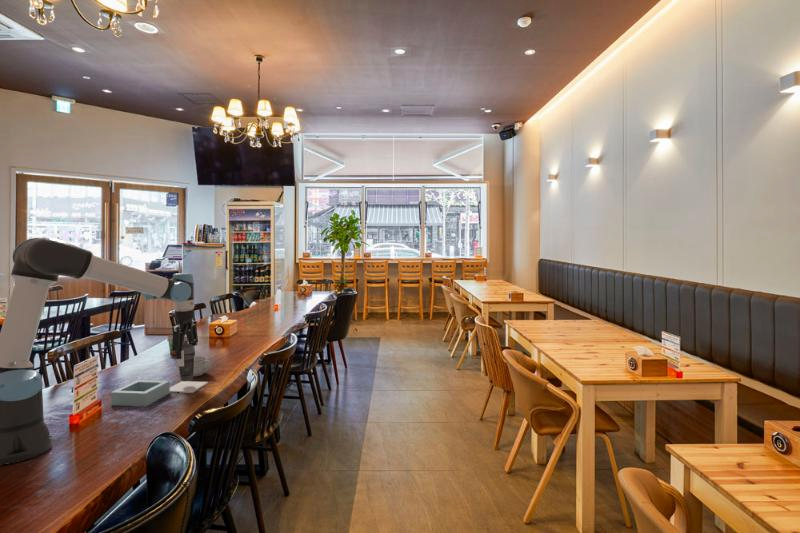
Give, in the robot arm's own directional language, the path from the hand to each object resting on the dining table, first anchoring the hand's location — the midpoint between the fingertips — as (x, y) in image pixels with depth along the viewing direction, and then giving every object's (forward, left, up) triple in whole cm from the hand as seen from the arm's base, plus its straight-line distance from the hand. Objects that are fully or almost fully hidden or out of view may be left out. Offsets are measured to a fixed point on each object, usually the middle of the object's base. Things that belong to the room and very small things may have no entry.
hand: (186, 363), depth 179 cm
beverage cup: (0, 0, -7) cm, 7 cm away
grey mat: (0, 0, -10) cm, 10 cm away
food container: (+48, +37, -11) cm, 62 cm away
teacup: (+16, +5, -11) cm, 20 cm away
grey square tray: (-14, +10, -10) cm, 20 cm away
